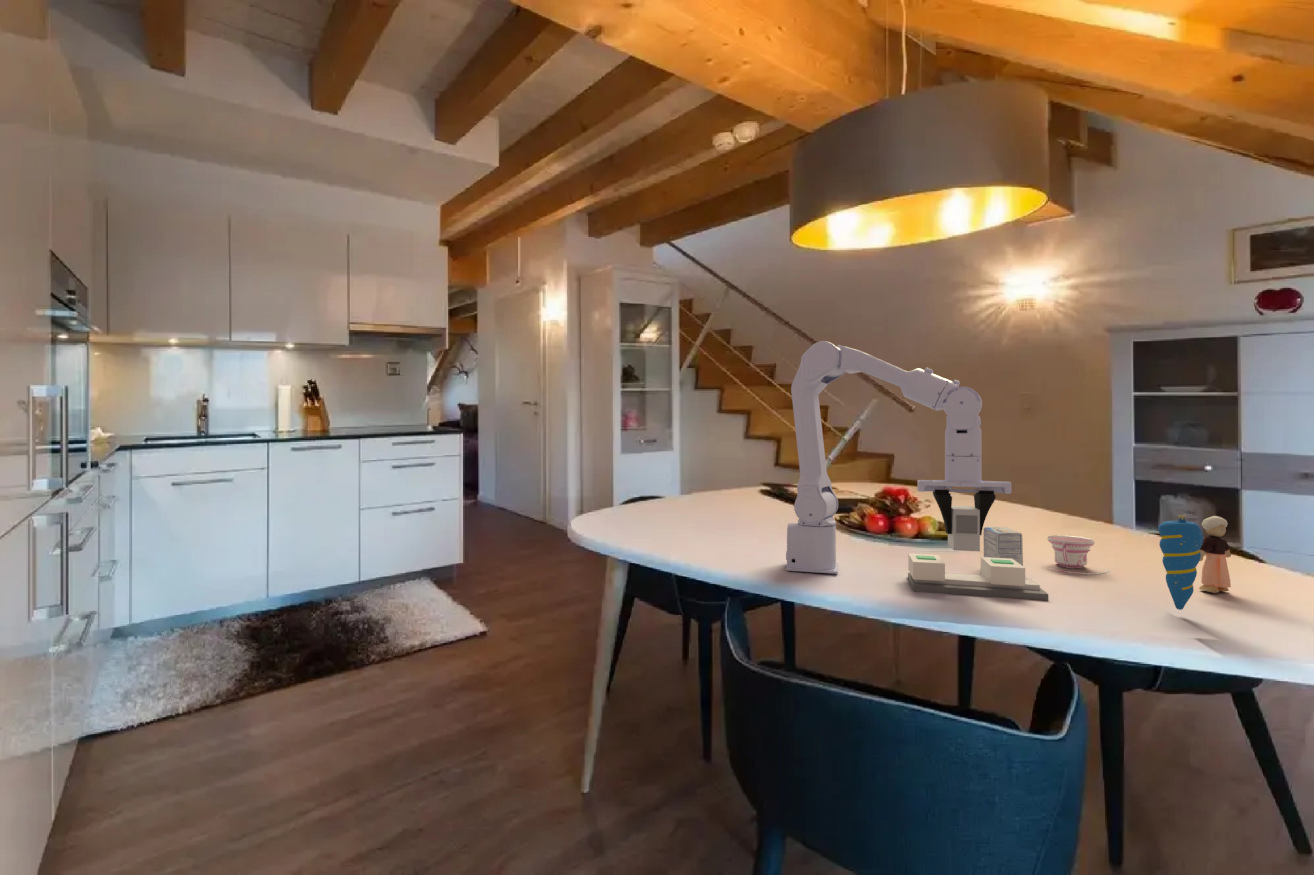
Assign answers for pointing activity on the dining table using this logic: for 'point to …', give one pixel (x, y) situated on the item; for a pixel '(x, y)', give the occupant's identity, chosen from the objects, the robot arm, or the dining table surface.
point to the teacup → (1071, 551)
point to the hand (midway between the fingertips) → (963, 533)
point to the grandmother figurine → (1215, 556)
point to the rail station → (973, 578)
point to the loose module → (965, 528)
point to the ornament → (1180, 557)
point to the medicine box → (1003, 543)
